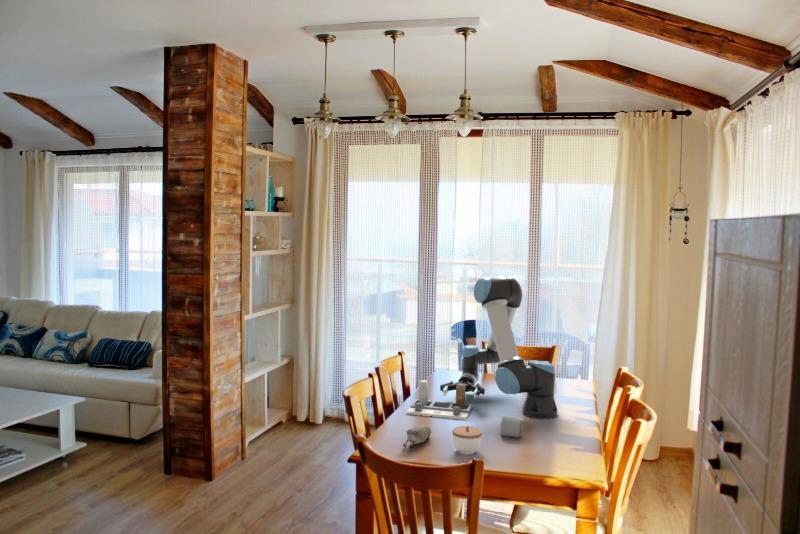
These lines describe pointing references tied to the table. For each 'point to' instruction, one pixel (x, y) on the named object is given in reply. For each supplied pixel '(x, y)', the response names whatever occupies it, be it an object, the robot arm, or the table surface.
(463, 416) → the plaque
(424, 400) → the pin board
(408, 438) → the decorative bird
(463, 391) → the walnut pin
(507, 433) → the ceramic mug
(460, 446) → the lidded jar
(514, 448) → the table surface
